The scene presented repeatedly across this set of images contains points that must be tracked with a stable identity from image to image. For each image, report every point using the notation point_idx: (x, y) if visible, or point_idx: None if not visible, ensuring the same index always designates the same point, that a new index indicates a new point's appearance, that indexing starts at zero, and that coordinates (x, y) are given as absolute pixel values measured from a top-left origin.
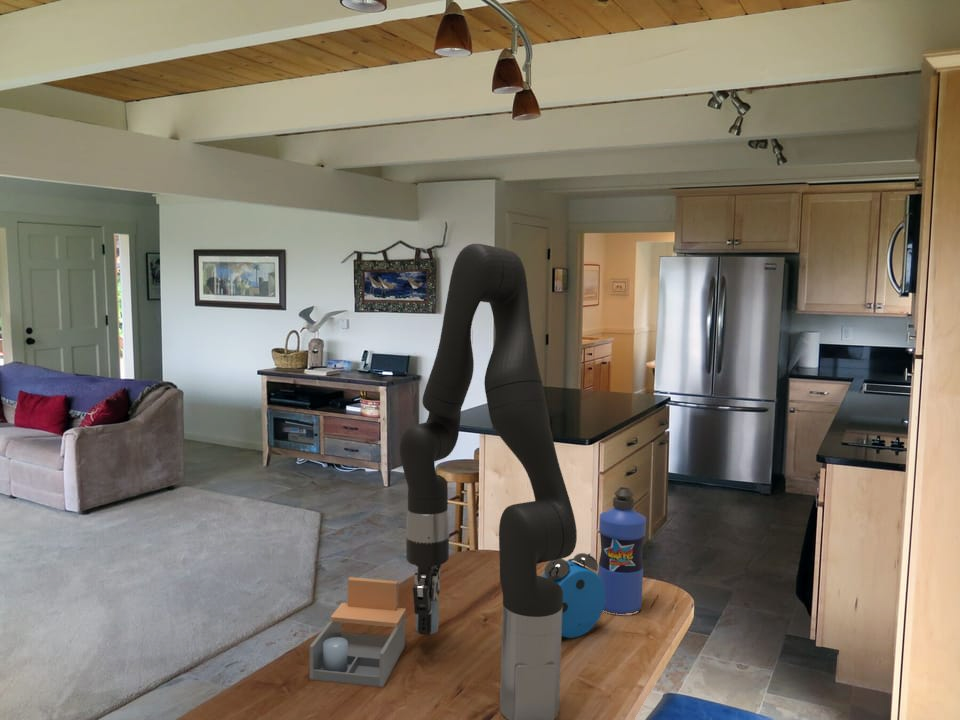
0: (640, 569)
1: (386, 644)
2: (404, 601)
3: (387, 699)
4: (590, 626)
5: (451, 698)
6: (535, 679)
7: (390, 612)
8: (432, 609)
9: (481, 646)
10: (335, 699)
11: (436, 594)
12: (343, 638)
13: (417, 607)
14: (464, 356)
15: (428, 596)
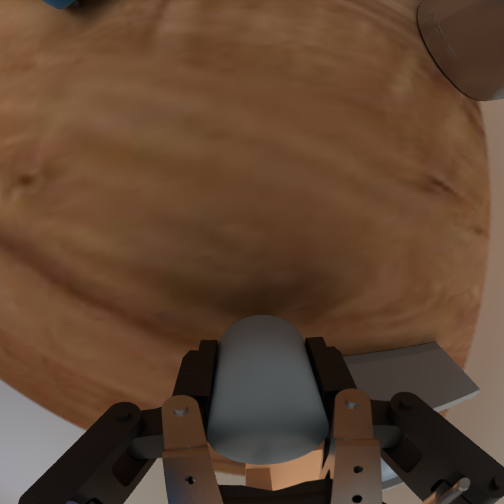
0: None
1: (447, 405)
2: (36, 381)
3: (453, 325)
4: None
5: (461, 202)
6: None
7: (285, 473)
8: (318, 400)
9: (181, 146)
10: None
11: (182, 429)
12: (381, 471)
13: (408, 447)
14: None
15: (459, 459)
